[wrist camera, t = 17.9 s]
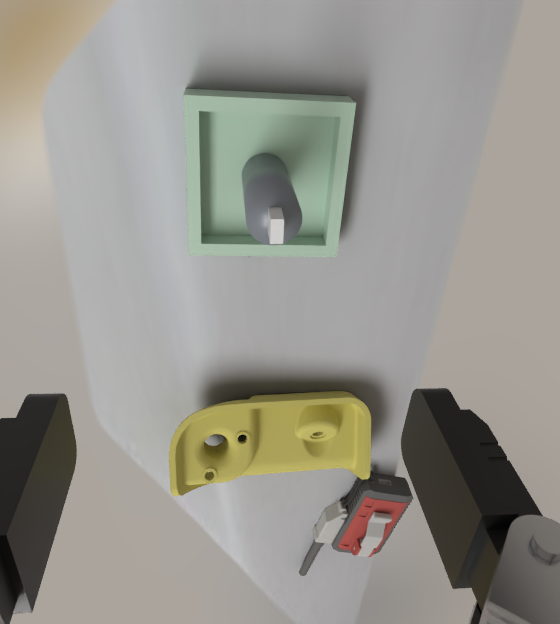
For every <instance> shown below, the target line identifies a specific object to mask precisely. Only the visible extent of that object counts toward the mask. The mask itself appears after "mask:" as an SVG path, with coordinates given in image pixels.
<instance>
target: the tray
mask: <svg viewBox="0 0 560 624" xmlns="http://www.w3.org/2000/svg"><path fill="white" fill-rule="evenodd" d="M355 109H356V102H355V101H353V100H352V99H351V98H350V97H349V96H333V95H312V94H291V93H270V92H250V91H229V90H208V89H187V88H186V89H185V92H184V123H185V154H186V184H187V215H188V246H189V255H220V256H299V257H337V249H338V241H339V233H340V226H341V218H342V210H343V202H344V195H345V187H346V179H347V171H348V163H349V156H350V148H351V140H352V132H353V125H354V117H355ZM261 153H269V154H273V155H275V156H277V157H279V158H280V159H281V160H282V161H283V162H284V164H285V166H286V168H287V171H288V174H289V177H290V180H291V182H292V185H293V188H294V191H295V194H296V197H297V199H298V202H299V205H300V208H301V211H302V225H301V228H300V230H299V232H298V233H297V234H296V236H295V237H294V238H292V239H291V240H290V241H288V242H286V243H284V244H281V245H266V244H263V243H261V242H259V241H257V240H256V239H255V238H254V237H253V236H252V235H251V234H250V232H249V230H248V228H247V224H246V216H245V206H244V196H243V186H242V170H243V167H244V165H245V164H246V162H247V161H248V160H249V159H250V158H251V157H253V156H255V155H257V154H261Z"/></svg>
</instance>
